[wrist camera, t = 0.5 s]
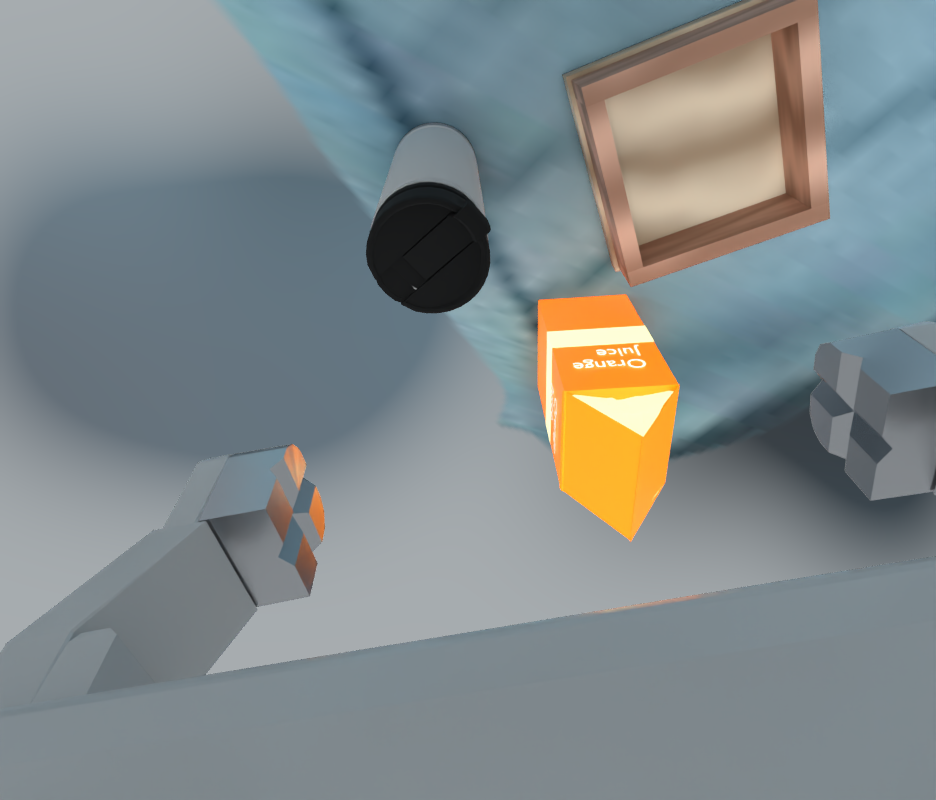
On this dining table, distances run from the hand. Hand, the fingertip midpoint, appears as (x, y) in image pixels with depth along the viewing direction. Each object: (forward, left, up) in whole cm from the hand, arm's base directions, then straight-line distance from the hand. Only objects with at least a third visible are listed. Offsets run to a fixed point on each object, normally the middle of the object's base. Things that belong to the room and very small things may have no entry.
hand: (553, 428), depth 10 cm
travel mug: (+4, -4, -41) cm, 42 cm away
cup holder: (+9, +14, -41) cm, 44 cm away
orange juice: (+22, +2, -41) cm, 47 cm away
